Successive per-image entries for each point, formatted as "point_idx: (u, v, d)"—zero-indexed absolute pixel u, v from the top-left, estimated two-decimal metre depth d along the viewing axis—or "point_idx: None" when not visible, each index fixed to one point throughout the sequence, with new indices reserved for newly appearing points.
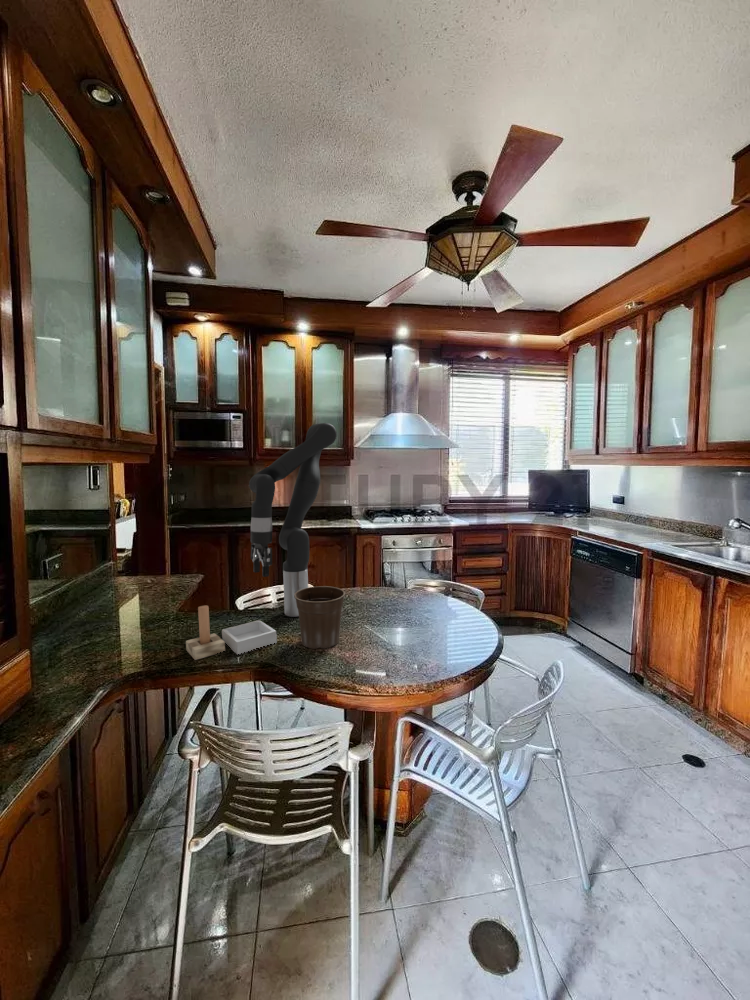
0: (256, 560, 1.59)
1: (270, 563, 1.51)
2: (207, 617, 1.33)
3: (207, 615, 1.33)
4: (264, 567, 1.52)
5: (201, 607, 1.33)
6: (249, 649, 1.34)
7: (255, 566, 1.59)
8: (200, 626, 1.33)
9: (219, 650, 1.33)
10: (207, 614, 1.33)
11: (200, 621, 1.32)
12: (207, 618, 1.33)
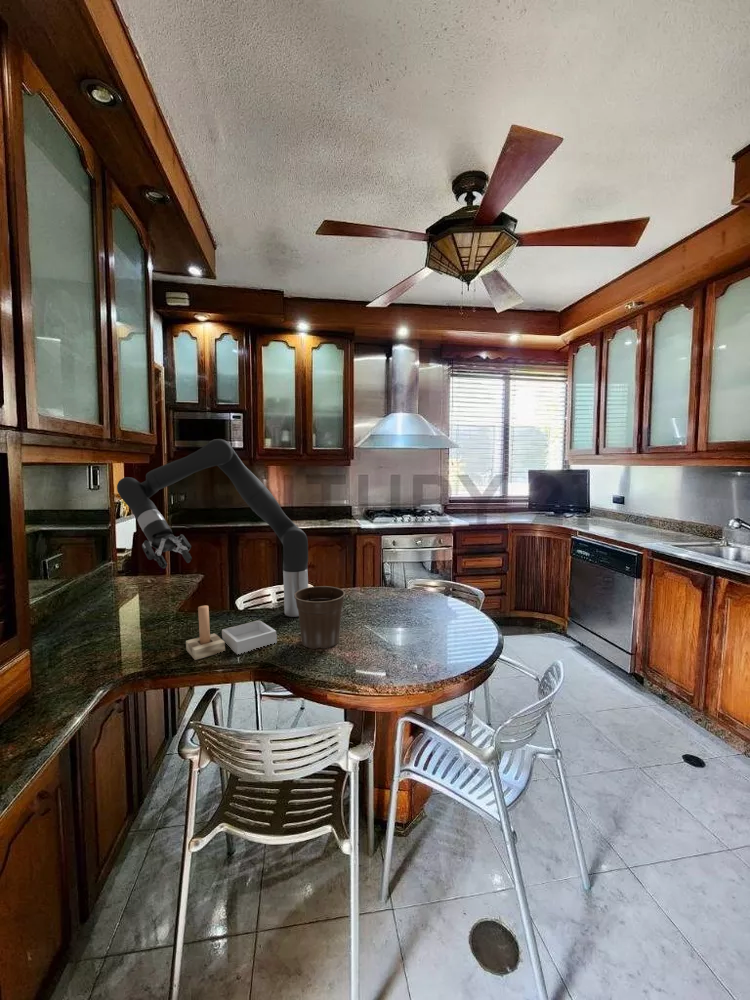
0: (182, 551, 1.43)
1: (150, 555, 1.33)
2: (207, 617, 1.33)
3: (207, 615, 1.33)
4: None
5: (201, 607, 1.33)
6: (249, 649, 1.34)
7: (184, 557, 1.42)
8: (200, 626, 1.33)
9: (219, 650, 1.33)
10: (207, 614, 1.33)
11: (200, 621, 1.32)
12: (207, 618, 1.33)
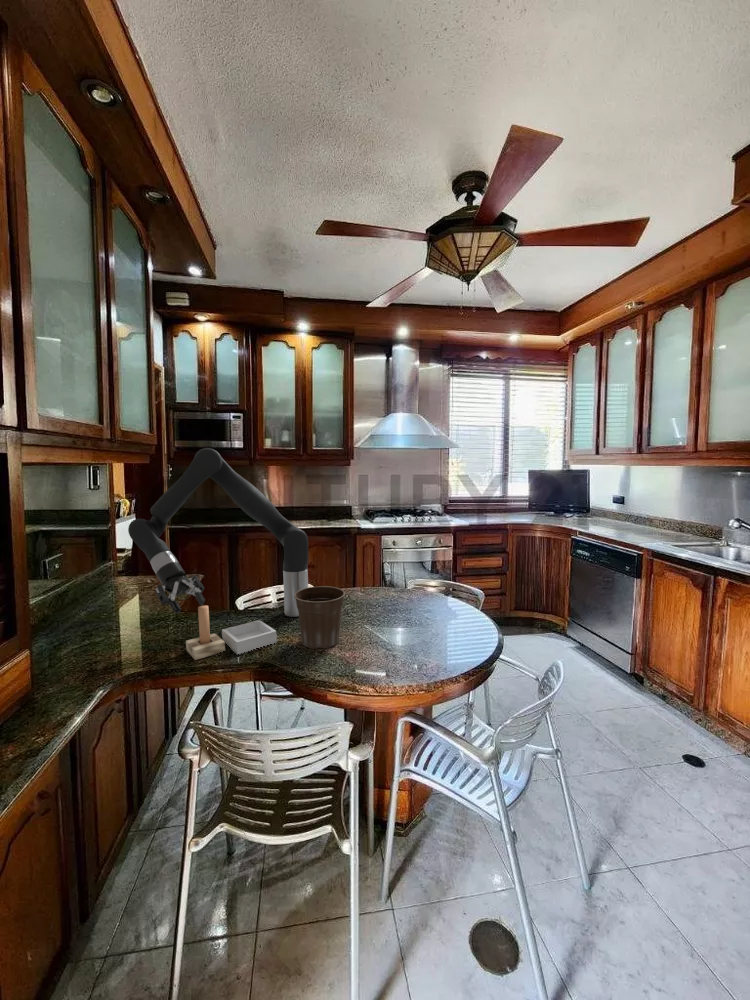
0: (195, 593, 1.41)
1: (163, 600, 1.32)
2: (207, 617, 1.33)
3: (207, 615, 1.33)
4: None
5: (201, 607, 1.33)
6: (249, 649, 1.34)
7: (197, 599, 1.41)
8: (200, 626, 1.33)
9: (219, 650, 1.33)
10: (207, 614, 1.33)
11: (200, 621, 1.32)
12: (207, 618, 1.33)
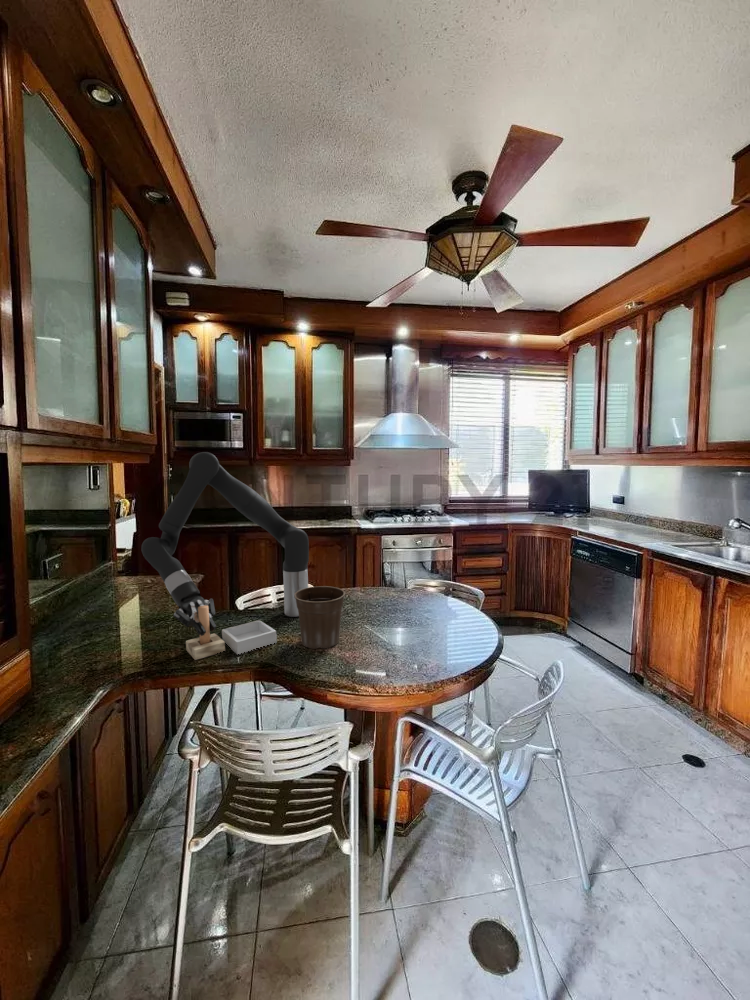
0: None
1: (189, 623, 1.30)
2: (207, 617, 1.33)
3: (207, 615, 1.33)
4: None
5: (201, 607, 1.33)
6: (249, 649, 1.34)
7: None
8: None
9: (219, 650, 1.33)
10: (207, 614, 1.33)
11: (200, 621, 1.32)
12: (207, 618, 1.33)
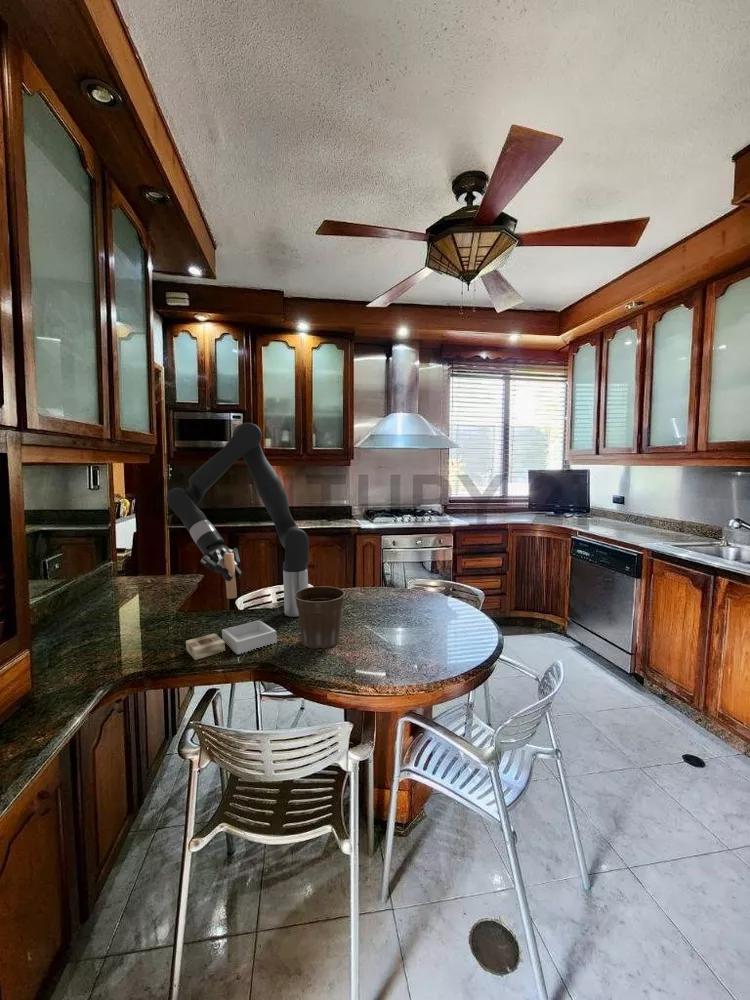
0: None
1: (216, 568, 1.33)
2: (233, 563, 1.35)
3: (232, 561, 1.35)
4: None
5: (226, 554, 1.35)
6: (249, 649, 1.34)
7: None
8: None
9: (219, 650, 1.33)
10: (233, 560, 1.35)
11: (226, 567, 1.35)
12: (233, 564, 1.35)
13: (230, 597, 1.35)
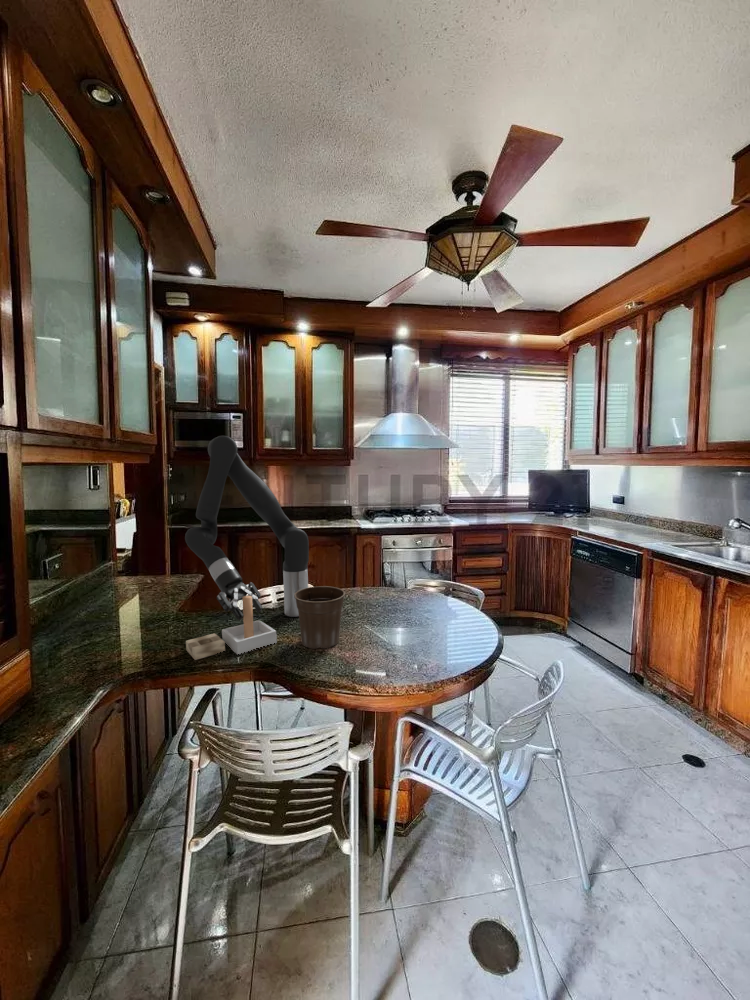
0: (252, 600, 1.43)
1: (227, 607, 1.34)
2: (251, 606, 1.39)
3: (251, 604, 1.39)
4: None
5: (245, 597, 1.39)
6: (249, 649, 1.34)
7: (255, 606, 1.43)
8: (244, 615, 1.38)
9: (219, 650, 1.33)
10: (251, 604, 1.39)
11: (244, 610, 1.38)
12: (251, 608, 1.39)
13: None
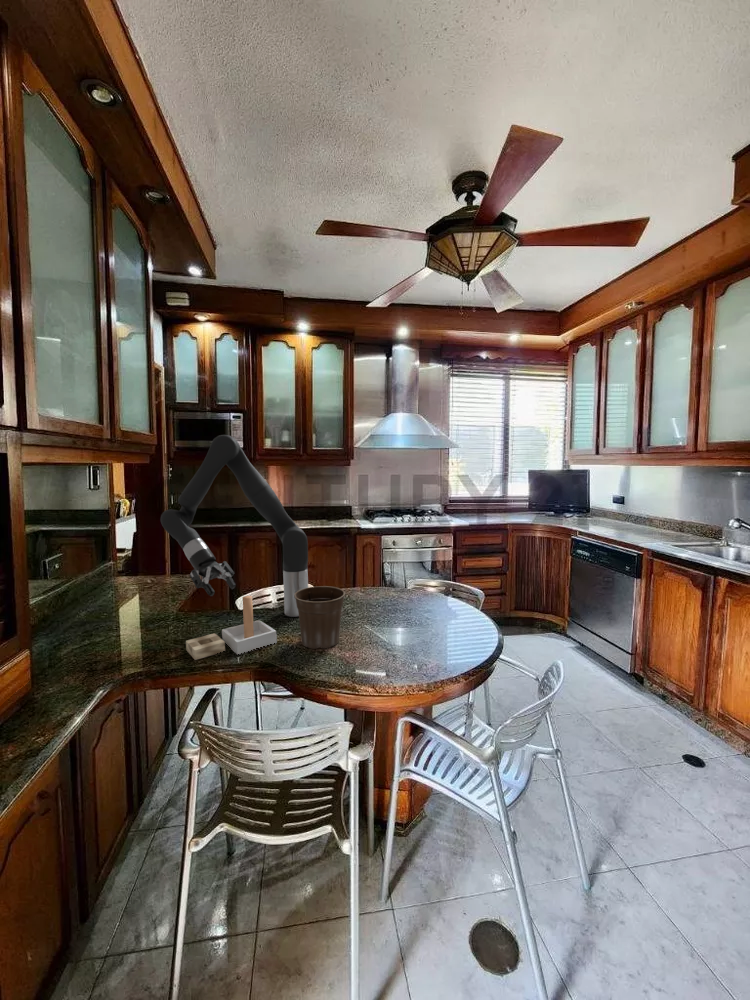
0: (226, 578, 1.50)
1: (198, 583, 1.40)
2: (251, 606, 1.39)
3: (251, 604, 1.39)
4: None
5: (245, 597, 1.39)
6: (249, 649, 1.34)
7: (228, 583, 1.49)
8: (244, 615, 1.38)
9: (219, 650, 1.33)
10: (251, 604, 1.39)
11: (245, 610, 1.38)
12: (251, 608, 1.39)
13: None
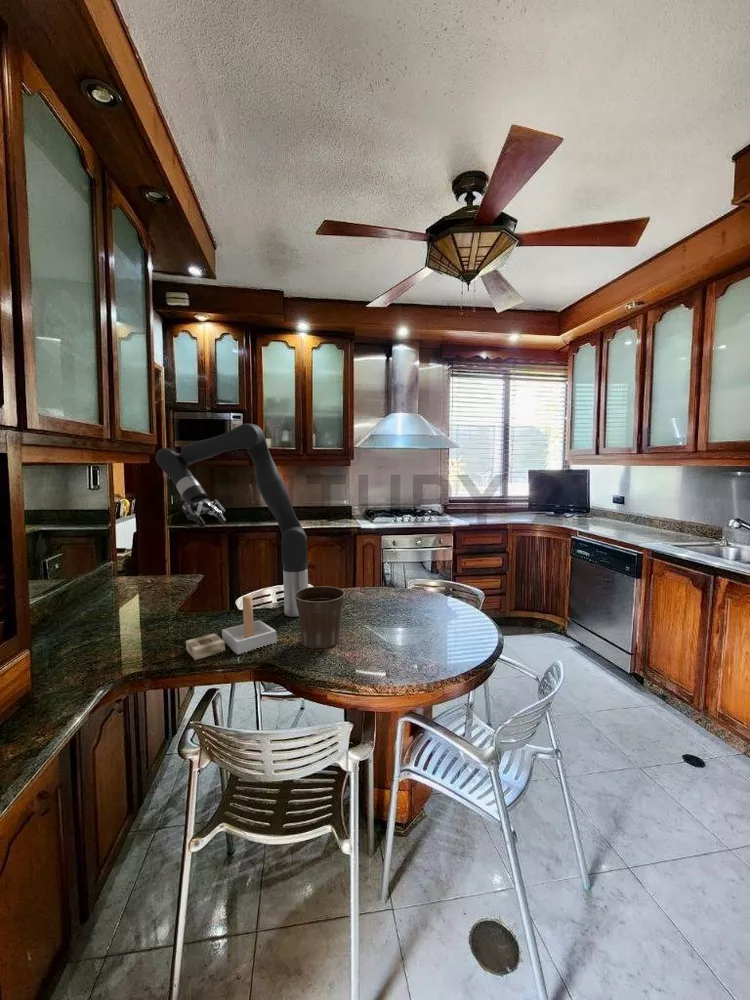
0: (217, 514, 1.56)
1: (190, 515, 1.47)
2: (251, 607, 1.39)
3: (251, 604, 1.39)
4: None
5: (245, 597, 1.39)
6: (249, 649, 1.34)
7: (219, 519, 1.56)
8: (244, 615, 1.38)
9: (219, 650, 1.33)
10: (251, 604, 1.39)
11: (244, 611, 1.38)
12: (251, 608, 1.39)
13: None
